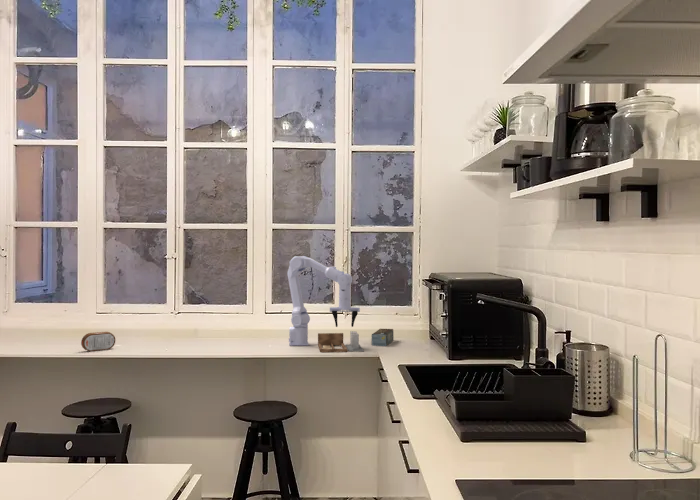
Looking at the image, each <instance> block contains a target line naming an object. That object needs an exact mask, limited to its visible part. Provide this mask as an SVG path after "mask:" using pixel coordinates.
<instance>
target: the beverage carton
mask: <svg viewBox="0 0 700 500" xmlns="http://www.w3.org/2000/svg"><path fill="white" fill-rule="evenodd" d="M394 339H395V338H394V329H393V328H379V329H377V330H376V331H374V332H373V333H371V345H372V347H373V346H374V347H375V346H376V347H387V346H389V344H391V343H392V342H393V341H394Z"/></svg>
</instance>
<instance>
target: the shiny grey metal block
mask: <svg viewBox="0 0 700 500" xmlns="http://www.w3.org/2000/svg"><path fill="white" fill-rule="evenodd" d="M349 336H350V337H349V341H350V343H349V344H350V346H351V348H352V349H353V350H355V349H359V345H360V344H359V343H360V342H359V341H360V338H359V336H360V334H359V333H358V332H357V331H354V330H353V331H352V330H351V331H350V335H349Z"/></svg>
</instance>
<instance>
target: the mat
mask: <svg viewBox="0 0 700 500" xmlns="http://www.w3.org/2000/svg"><path fill="white" fill-rule="evenodd" d="M344 345H345V346H346V348H347V352H349V353H350V352H351V353H352V352H356V353H357V352H358V353H359V352H365V350H364V349H363V347H362V346H361V345H360V344H359V349H355V350H353V349H352V348H351V346H350V343H349V344H347V343H346V344H345V343H344Z"/></svg>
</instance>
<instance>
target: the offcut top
mask: <svg viewBox="0 0 700 500" xmlns="http://www.w3.org/2000/svg"><path fill="white" fill-rule="evenodd" d="M322 348H323V349H332V347H331V346H330V345H323V346H322Z"/></svg>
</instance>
